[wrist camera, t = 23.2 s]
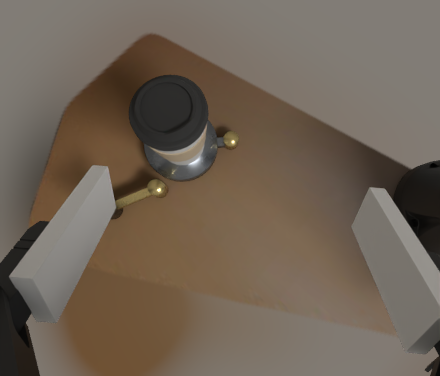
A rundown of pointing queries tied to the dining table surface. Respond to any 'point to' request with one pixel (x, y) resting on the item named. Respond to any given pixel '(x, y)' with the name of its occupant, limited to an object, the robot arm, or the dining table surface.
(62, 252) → the robot arm
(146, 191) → the lever
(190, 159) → the coffee cup
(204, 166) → the plate
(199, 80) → the dining table surface
